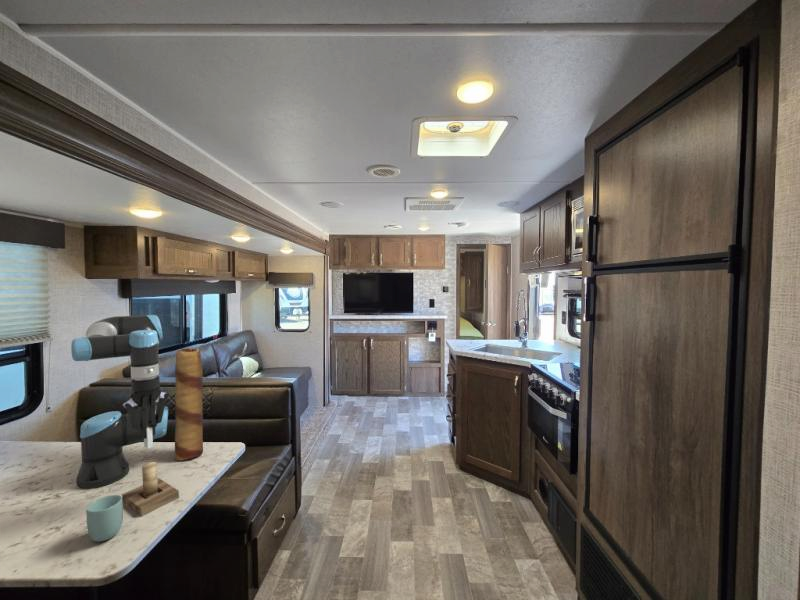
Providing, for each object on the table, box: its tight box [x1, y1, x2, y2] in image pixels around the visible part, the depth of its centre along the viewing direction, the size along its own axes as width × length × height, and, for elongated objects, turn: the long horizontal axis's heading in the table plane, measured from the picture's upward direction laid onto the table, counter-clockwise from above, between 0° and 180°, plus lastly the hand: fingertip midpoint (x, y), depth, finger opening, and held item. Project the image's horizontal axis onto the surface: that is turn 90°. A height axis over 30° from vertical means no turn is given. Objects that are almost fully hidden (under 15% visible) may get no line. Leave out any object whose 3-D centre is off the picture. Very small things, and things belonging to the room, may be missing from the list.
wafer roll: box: [174, 347, 204, 462], centre depth 146 cm, size 10×11×45 cm
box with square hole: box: [121, 477, 180, 517], centre depth 117 cm, size 14×11×2 cm
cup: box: [85, 494, 124, 543], centre depth 100 cm, size 8×8×10 cm
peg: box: [141, 461, 158, 499], centre depth 117 cm, size 4×4×12 cm
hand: (148, 446), depth 116 cm, fingers closed
